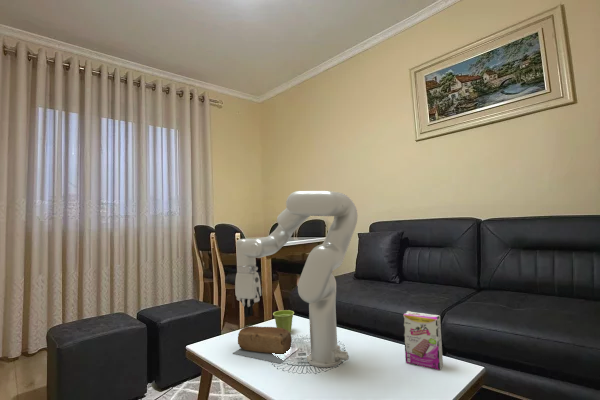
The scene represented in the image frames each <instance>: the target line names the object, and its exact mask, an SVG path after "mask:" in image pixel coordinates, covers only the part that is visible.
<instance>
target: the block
mask: <svg viewBox="0 0 600 400" xmlns="http://www.w3.org/2000/svg"><path fill="white" fill-rule="evenodd" d="M291 333H292V332H291ZM291 333H290V332H289V331H288V330H286V329H283V328H277V327H276V326H252V325H251V326H245V327H243V328H242V329H240V330H239V332H238V335H237V344H238V346H239V349H240V348H242V349H244V350H248V351H255V352H263V353H275V354H284V353H286V351H288V350H289V349H290V347H292V334H291Z"/></svg>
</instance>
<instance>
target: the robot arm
mask: <svg viewBox="0 0 600 400" xmlns="http://www.w3.org/2000/svg"><path fill="white" fill-rule="evenodd" d="M285 206H286V208H285V209H283V210H282V211H281V212H280V213H279V214H277V218H276V222H277V224H278V225H277V226H276V227H275V229H274V230H273V231H272V232H271V233H270V234H269V235H268V236H262V237H257V238H240V239H237V240H236V242H235V247H236V249H235V250H236V251H235V252H236V253H235V254H236V275H235V282H234V284H235V285H234V290H235V292H234V293H235V294H234V295H235V297H236V300H237V301H239V302H241V305H242V306H243V309H244V310H243V311H244V312H243V313H244V317H245V318H250V317H252V316H253V315H254V314H253V313H254V309H253V306H254V305H255V304H256V303H259V302H260V299H261V298H260V297H261V296H262V286H261V279H260V275H259V272H257V271H258V269H259V267H258V266H257V261H256V258H257V259H261V258H263V257H264V258H265V257H268V256H271V255H274V254H276V253H277V252H278V251H280V250H281V249H282V247H284V246H285V245H286V244H287V243H288V242H289V240H290V239H291V238H292V236H293V234H294V232H296V230H297V229H298V228H299V227H301V225H303V223H305V221H307V219H309V218H310V217H333V221H332V223H330V226H329V228H328V231H327V234H326V236H325V238H324V241H323V242H322V244H318V245H316V246H315V247H313V248H312V249H311V251H310V252H309V254H308V256H307V258H306V261H305V263H304V266H303V268H302V272H301V274H300V276H299V280H298V283H297V292H298V296H299V297H300V299H301V300H302V301H303V302H305V303H308V311H309V312H308V313H309V314H308V317H309V318H308V319H309V339H310V353H311V354H310V355H309V356H306V362H307V361H308V362H309V363H308V362H307V363H308V364H309V365H310V366H313V367H317V368H331V367H335V366H338V365H340V364H341V363H342V362H343V361H348V360H349V357H350V356H349V353H348V351H345V350H341V345H338V334H337V333H338V332H337V313H336V312H337V311H336V309H337V308H336V305H337V304H336V301H337V300H336V297H337V281H336V278H335V275H334V274H333V271H335V270H336V269H338V268H340V267H341V265H342V264H343V263H344V259H345V256H346V254H347V251H348V248H349V247H350V243H351V240H352V237H353V235H354V232H355V230H356V226H357V224H358V216H359V215H358V209H357V206H356V205H355V203H354V201H353V200H352V199H351V197H349V196H348V195H347V194H345V193H343V192H338V191H332V190H296V191H293V192H291V193H290V194H288V196H287V199H286V202H285Z"/></svg>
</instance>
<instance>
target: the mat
mask: <svg viewBox="0 0 600 400" xmlns="http://www.w3.org/2000/svg"><path fill="white" fill-rule="evenodd" d="M232 355H236V356H241V357H246V358H250V359H255V360H260V361H265V362H269V363H270V362H271V363H275V364H278V365H281V364H282V363H283V362H284V361H283V360H282V359H280V358H279V357H278V356H277V357H278V358H277V357H276V356H274V355H273V354H272V353H263V352H255V351H248V350H244V349H242V348H240V347H239V349H237V350H235V351H234V352H232ZM282 361H283V362H282Z"/></svg>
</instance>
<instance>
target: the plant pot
mask: <svg viewBox="0 0 600 400" xmlns="http://www.w3.org/2000/svg"><path fill="white" fill-rule="evenodd" d="M294 314H295V312H294V311H293V310H290V309H288V310H287V309H285V310H284V309H283V310H281V309H280V310H277V311H274V312H273V313H272V315H273V318H274V320H275V327H276V328H283V329H286V330H288V331H289V332H290V333H292V326H293V317H294Z"/></svg>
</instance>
